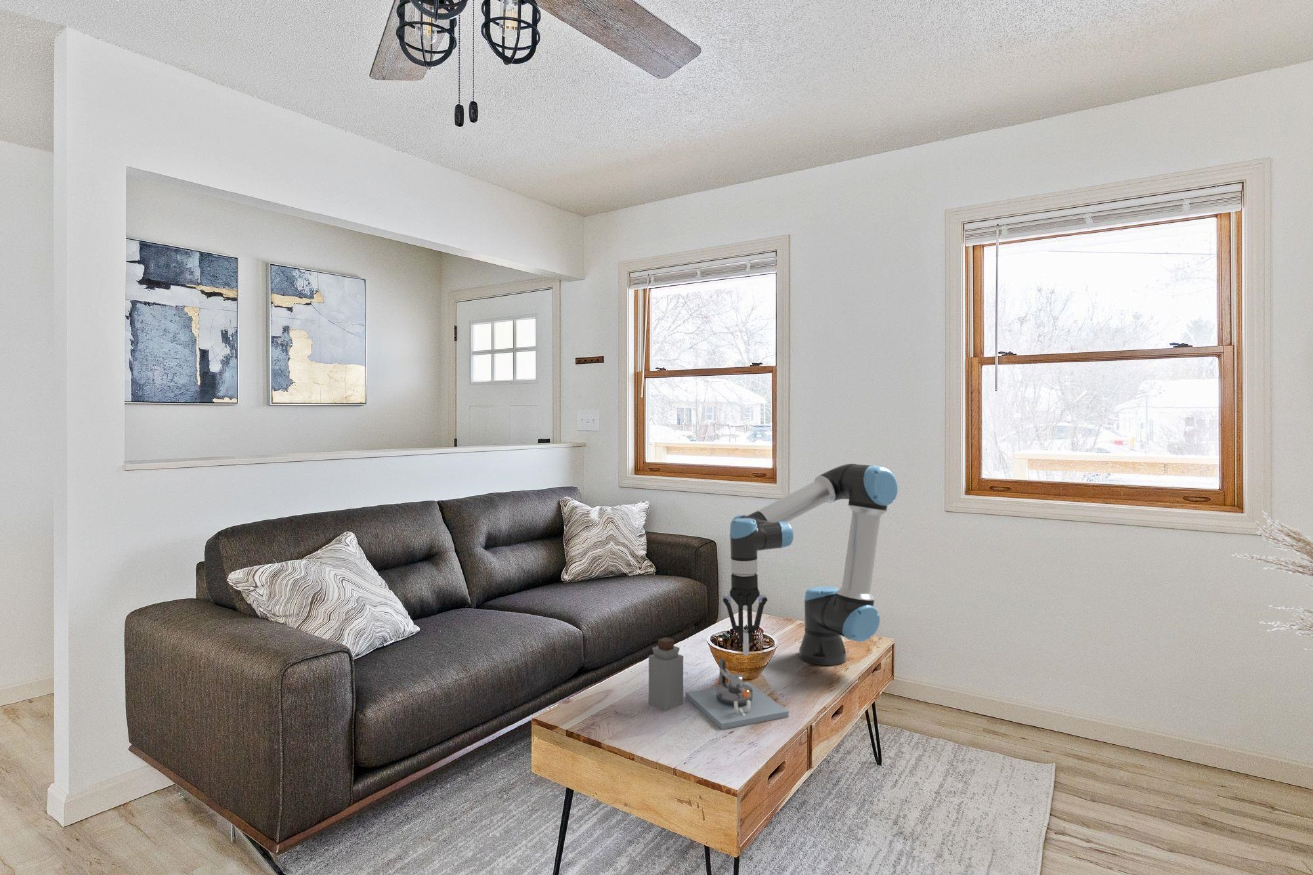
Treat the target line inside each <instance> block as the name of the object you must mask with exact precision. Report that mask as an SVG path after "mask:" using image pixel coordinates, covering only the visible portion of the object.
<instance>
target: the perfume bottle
mask: <svg viewBox="0 0 1313 875" xmlns="http://www.w3.org/2000/svg"><path fill="white" fill-rule="evenodd" d="M651 649H652V652H653V654H650V655H648V704H649V705H651V706H652V707H653V706H654V707H656V708H657V709H660V710H663V711H665V712H667V711H670V710H672V709H674V708H676V707H679V706H681V705H683V704H684V655H682V654H679V652H680V647H679V646H676V645H675V639H674V638H670V637H667V636H666V637H662V638H659V639H657V645H656V646H654V647H652V648H651Z"/></svg>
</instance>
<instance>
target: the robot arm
mask: <svg viewBox="0 0 1313 875" xmlns="http://www.w3.org/2000/svg"><path fill="white" fill-rule="evenodd" d="M898 491H899V487H898V481H897V479H896V476H895V475H894V474H893V472H892V471H891V470H890V469H889V468H887V467H883V466H878V465H868V464H859V463H847V464H842V465H839V466H836V467H834V468H832V469H830V470H827V471H825V472H823V473H821V474H819V475H817V476H816V477H815V478H814V480H813V482H811V483H809V484H806V485H805V486H803V487H801V488H799V489H797V490H795V491H793V492H791V493H789V494H788V495H786V496H784V497H781V498H780V499H778V500H776V501H774V502H772V503H770V504H768V505H766V506H764V507H762V508H760V509H757V511H754V512H751V513H749V514H747V515H746V514H738V515H736V516H734V517H733V518H732V520H731V522H730V525H729V526H730V527H729V543H730V544H729V545H730V572H731V576H730V580H731V582H730V584H731V586H730V587H731V588H730V591H729V593H728V594H727V595H723V596H722V603H724V605H725V606H726V609H727V613H728V616H729V621H730V624H731V627H732V630H733V631H734V632H737V633H738V642H739V644H742V653H743V656H744V657H745V656H747V657H749V656H750V647H749V646H750V644H752V643H753V632H756V631H757V632H758V631H759V629H760V625H761V620H762V615H763V612H764V607H765V605H766V603H767V602H768V597H767V596H766V595H764V594H761V592H760V590H759V584H758V583H759V581H758V580H759V577H758V574H757V572H758V552H760V551H766V550H774V549H783V548H786V547H790V545H792V544H793V541H794V530H793V528H792V525H791V524H790V523H789V522H790V521H793V520H795V519H796V518H798V517H801V516H802V515H804V514H806V513H807V512H809V511H812V510H813V509H816V508H817V507H819V506H821V505H823V504H825V503H827V504H832V503H834V502H836V501H840V500H848V505H847V506H848V507H849V509H850V510H851V513H852V514H851V519H850V525H849V532H848V533H849V534H848V542H847V549H846V556H845V562H844V569H843V577H842V584H841V587H836V586H816V587H811V588H808V589H807V590H806V591H805V594H804V595H805V596H804V601H803V602H804V634H803V637H802V639H801V643H800V647H799V649H798V656H799V658H800V659H801V660H803V661H804V662H806V663H810V664H813V665H819V666H836V665H840V664H841V665H842V664H843V663H845V662H846V661H847V650H846V648H845V644H844V641H843V637H844V638H845V639H847V640H850V641H853V642H857V643H862V642H865V641H868V640H870V639H871V637H873V636H874V635H875V634H876V633H877V631H878V629H879V626H880V622H881V616H880V613H879V612H878V610H877V608H875V606H874V605H875V597H874V595H872V593H871V589H872V581H873V574H874V567H875V561H876V560H875V559H876V555H877V554H876V552H877V545H878V538H879V530H880V524H881V518H882V516H883V515H884V514H885V513H887V511H888V510H887V509H888V506H889V505H890V504H892V503H893V502H894V500H896V498H897V495H898ZM732 600H733V601H734V602H735V603H736V605H737V608H738V609H737V614H738V616H737V617H738V619H737V621H738V624H737V623H736V620H735V619H736V618H735V616H734V612H733V607H732V604H731V603H732ZM757 600H758V606H757V608H756V609H757V610H756V614H755V618H754V621H753V605H754V604H755V602H756V601H757ZM744 606H746V619H747V621H746V622H747V624H746V625H747V629H746V630H745V629H744ZM753 622H754V623H753Z"/></svg>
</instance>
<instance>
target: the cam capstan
mask: <svg viewBox="0 0 1313 875" xmlns="http://www.w3.org/2000/svg"><path fill="white" fill-rule="evenodd" d="M726 679H727V681H728V682H726ZM743 682H744V676H743V675H742V674H740V673H731V672H730V671H729V670H728V669H727V668H726V660H725V659H724V658H723V657H720V658H719V683H720V684H718V685H717V686H716V687H717V688H716V698H717V699H718V700H719V701H720V702H723V703H726V704H731V705H734V701H738V705H741V704H746V703H747V700H750V702H751V701H752V699H753V690H752V688H751V687H750V686H748V685H746V684H743Z"/></svg>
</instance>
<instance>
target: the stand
mask: <svg viewBox="0 0 1313 875" xmlns="http://www.w3.org/2000/svg"><path fill="white" fill-rule="evenodd" d="M743 684H746V685H748V686H750V687H751V688H752V690H753V699H752V701H751V702H750V700H747V703H746V704H741V705H738V701H734V705H731V704H726V703H723V702H720V701H719V700H718V699H717V698H716V688H717V686H713V687H707V688H701V689H696V690H695V689H694V690H689V691H685V698H686V699H687V700H689V701H690V703H692V704H693V705H694V706H695V707H696V708H697V709H698V710H699V711H701V712H702V713H703V714H704V715H705V716H706V717H707V718H708V719H710V721H712V722H713V723H714V724H715V725H716V726H717V727H718V728H720V729H721V730H726V729H732V728H737V727H742V726H748V725H752V724H759V723H762V722H767V721H772V720H778V719H779V720H780V719H784V718H789V717H790V714H789V712H790V711H789V710H788V709H787V708H785V707H784V706H783V705H781V704H779V703H778V702H777V701H776V700H774V699H773V698H771V697H770V696H768V695H767V694H766V693H764V692H763V691H761V690H760V689H759V688H757V687H756V686H754V685H753V684H752V683H750V682H749V681H743Z"/></svg>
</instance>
